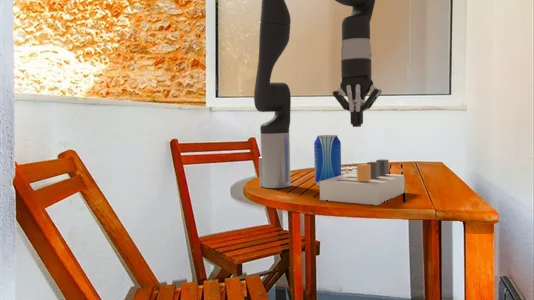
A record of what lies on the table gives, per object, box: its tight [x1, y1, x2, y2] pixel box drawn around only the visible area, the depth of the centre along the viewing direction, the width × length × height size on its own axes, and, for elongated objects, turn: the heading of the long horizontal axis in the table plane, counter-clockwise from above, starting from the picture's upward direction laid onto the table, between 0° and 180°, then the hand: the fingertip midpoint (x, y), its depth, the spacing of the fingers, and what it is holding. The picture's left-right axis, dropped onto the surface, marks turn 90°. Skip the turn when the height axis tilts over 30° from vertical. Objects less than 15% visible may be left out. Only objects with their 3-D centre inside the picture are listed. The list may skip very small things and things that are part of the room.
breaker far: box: [375, 159, 389, 175], centre depth 127 cm, size 2×3×4 cm
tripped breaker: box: [356, 163, 371, 181], centre depth 117 cm, size 2×3×4 cm
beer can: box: [313, 134, 342, 187], centre depth 146 cm, size 8×8×16 cm
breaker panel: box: [319, 172, 405, 206], centre depth 124 cm, size 16×20×5 cm
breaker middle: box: [366, 161, 380, 178], centre depth 122 cm, size 2×3×4 cm
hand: (356, 126), depth 117 cm, fingers closed
